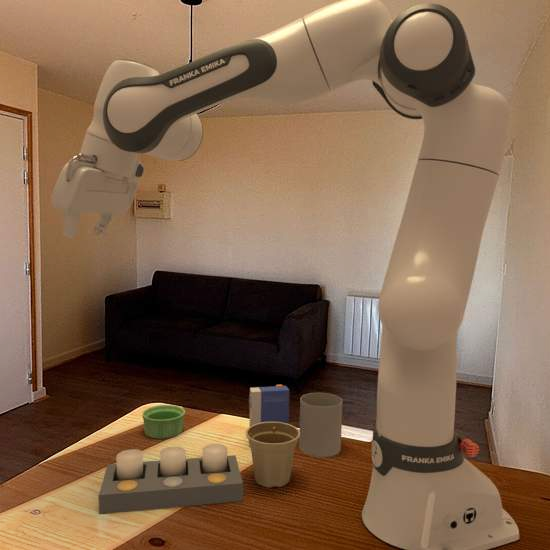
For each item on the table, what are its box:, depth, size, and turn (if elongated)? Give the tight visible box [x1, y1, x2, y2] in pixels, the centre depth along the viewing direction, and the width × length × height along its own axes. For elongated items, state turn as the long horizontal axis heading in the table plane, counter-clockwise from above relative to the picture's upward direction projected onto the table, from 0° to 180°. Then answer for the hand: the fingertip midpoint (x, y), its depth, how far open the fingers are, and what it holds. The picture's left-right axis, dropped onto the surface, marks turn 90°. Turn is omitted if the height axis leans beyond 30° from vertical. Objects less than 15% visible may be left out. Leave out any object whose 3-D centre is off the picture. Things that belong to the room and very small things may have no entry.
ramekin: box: [141, 404, 186, 440], centre depth 105 cm, size 9×9×4 cm
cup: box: [298, 392, 343, 458], centre depth 99 cm, size 8×8×10 cm
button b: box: [159, 446, 187, 477], centre depth 83 cm, size 4×4×3 cm
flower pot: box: [245, 422, 300, 489], centre depth 86 cm, size 9×9×9 cm
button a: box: [201, 443, 228, 474], centre depth 84 cm, size 4×4×3 cm
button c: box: [116, 448, 144, 480], centre depth 81 cm, size 4×4×3 cm
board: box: [98, 454, 244, 515], centre depth 81 cm, size 22×10×3 cm, turn 102°
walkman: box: [248, 384, 290, 449], centre depth 100 cm, size 8×3×12 cm, turn 104°
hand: (84, 235), depth 85 cm, fingers open, 8 cm apart
